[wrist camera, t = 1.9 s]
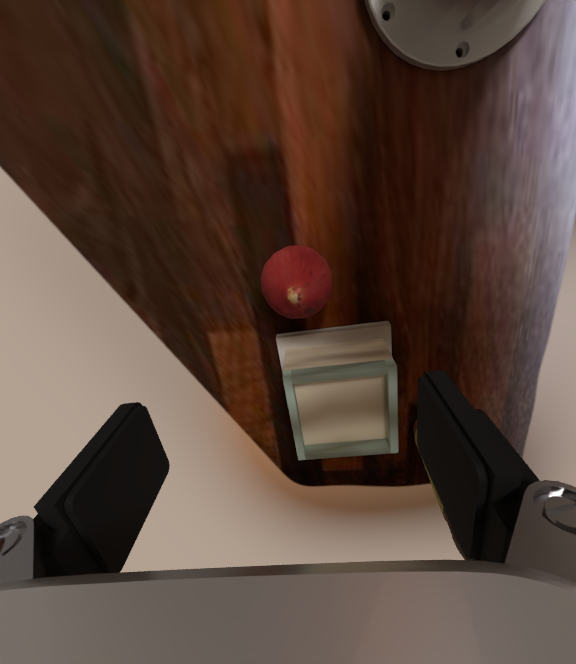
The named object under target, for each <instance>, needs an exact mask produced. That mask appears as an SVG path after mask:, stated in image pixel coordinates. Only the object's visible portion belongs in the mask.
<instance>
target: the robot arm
mask: <svg viewBox="0 0 576 664" xmlns="http://www.w3.org/2000/svg"><path fill="white" fill-rule="evenodd" d="M364 2H365V6H366V8H367V11H368V14H369V16H370V19H371V22H372V24H373V26H374V28H375V29H376V31H377V32H378V34H379V36H380V37H381V39H382V41H383V42H384V43H385V44H386V45H387V46H388V47H389V48H390V49H391V50H392V51H393V52H394V54H395V55H397V56H399V57H400V58H402V59H403V60H405V61H406V62H408V63H409V64H412V65H415V66H417V67H420V68H423V69H428V70H439V71H445V70H452V69H459V68H462V67H465V66H468V65H471V64H473V63H476V62H479V61H480V60H482V59H484V58H485V57H487V56H489V55H490V54H492V53H494V52H495V51H497V50H498V49H500V48H501V47H502V46H504V45H505V44H506V43H507V42H509V41H510V40H512V39H513V38H514V37H515V36H516V35H517V34H518V33H519V32H520V31H521V30H522V29H523V28H524V27H525V26H526V25H527V24H528V23H529V22H530V21H531V20H532V18H533V17H534V16H535V15H536V13H537V12H538V11H539V9H540V8H541V7H542V6H543V4H544V3H545V2H546V0H364ZM384 14H387V15H388V17H389V20H388V21H385V20H384V19H383V18H382V15H384ZM456 50H457V51H459V52H460V57H459V58H458V57H457V56H456V52H455V51H456ZM417 445H418V449H419V452H420V455H421V457H422V459H423V462H424V464H425V466H426V468H427V471H428V473H429V475H430V478H431V480H432V482H433V484H434V487H435V489H436V491H437V494H438V496H439V498H440V500H441V503H442V505H443V507H444V509H445V512H446V514H447V516H448V519H449V521H450V523H451V525H452V528H453V530H454V532H455V535H456V537H457V539H458V541H459V544H460V546H461V548H462V551H463V553H464V555H465V556H466V558H467V559H473V560H474V561H470V560H419V561H418V560H414V561H372V562H347V563H323V564H322V563H321V564H296V565H271V566H250V567H228V568H227V567H226V568H206V569H185V570H184V569H183V570H163V571H144V572H124V573H119V572H120V571H121V570H122V568H123V566H124V564H125V562H126V560H127V558H128V555H129V553H130V551H131V549H132V547H133V545H134V543H135V541H136V539H137V537H138V534H139V532H140V530H141V528H142V526H143V524H144V522H145V520H146V518H147V516H148V514H149V511H150V509H151V507H152V505H153V503H154V501H155V499H156V497H157V495H158V493H159V490H160V489H161V486H162V484H163V482H164V480H165V478H166V476H167V474H168V472H169V461H168V458H167V456H166V453H165V451H164V449H163V446H162V444H161V441H160V439H159V437H158V434H157V432H156V429H155V427H154V424H153V422H152V419H151V417H150V415H149V412H148V410H147V408H146V407H145V406H142V404H140V403H138V402H136V403H127V404H122V405H120V406H119V407H118V408H117V410H116V411H115V412H114V413H113V415H111V417H110V418H109V419H108V420H107V421H106V422H105V424H104V425H103V426H102V427H101V428H100V430H99V431H98V432H97V433H96V434H95V435H94V437H93V438H92V439H91V440H90V441H89V442H88V444H87V445H86V446H85V447H84V448H83V449H82V451H81V452H80V453H79V454H78V455H77V457H76V458H75V459H74V460H73V461H72V463H71V464H70V465H69V466H68V467H67V468H66V470H65V471H64V472H63V473H62V474H61V476H60V477H59V478H58V479H57V480H56V481H55V482H54V484H53V485H52V486H51V487H50V488H49V489H48V491H47V492H46V493H45V494H44V495H43V497H42V498H41V499H40V500H39V501H38V503H37V504H36V505H35V506H34V508H35V509H36V511H37V513H38V514H37V516H36V517H35V518H34V519H32V518H31V517H29V516H19V517H14V518H11V519H9V520H7V521H5V522H3V523H1V524H0V664H576V487H573V486H571V485H568V484H565V483H561V482H558V481H548V480H544V481H540V480H539V479H538V478H537V477H536V475H535V474H534V473H533V472H532V470H531V469H530V468H529V467H528V465H527V464H526V463H525V462H524V460H523V459H522V458H521V457H520V455H519V454H518V453H517V452H516V450H515V449H514V448H513V447H512V446H511V444H510V443H509V442H508V441H507V439H506V438H505V437H504V436H503V434H502V433H501V432H500V431H499V429H498V428H497V427H496V426H495V425H494V423H493V422H492V421H491V420H490V418H489V417H488V416H487V415H486V414H485V413H484V412H483V411H482V410H480V409H474V408H473V407H472V406H471V405H470V403H469V402H468V401H467V399H466V398H465V397H464V395H463V394H462V393H461V392H460V390H459V389H458V388H457V386H456V385H455V384H454V383H453V381H452V380H451V379H450V377H449V376H448V375H447V373H446V372H445V371H443V370H441V371H431V372H425V373H424V375H423V377H419V378H418V404H417Z"/></svg>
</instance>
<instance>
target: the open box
mask: <svg viewBox="0 0 576 664" xmlns="http://www.w3.org/2000/svg"><path fill="white" fill-rule="evenodd" d="M276 342H277V347H278V352H279V358H280V363H281V368H282V373H283V383H284V388H285V393H286V399H287V404H288V409H289V414H290V419H291V425H292V430H293V435H294V440H295V445H296V451H297V456H298V460H309V459H322V458H336V457H349V456H362V455H375V454H388V453H398V394H397V365H396V363H395V361H394V359H393V357H392V345H391V324H390V322H389V321H382V322H374V323H365V324H357V325H349V326H340V327H332V328H324V329H316V330H307V331H299V332H291V333H282V334H277V335H276Z"/></svg>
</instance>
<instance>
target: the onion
mask: <svg viewBox="0 0 576 664" xmlns="http://www.w3.org/2000/svg"><path fill="white" fill-rule="evenodd" d="M260 281H261V288H262V294H263V296H264V297H265V299H266V301H267V303H268V305H269V306H270V307H271V308H272V309H273V310H275V311H276V312H277V313H278V314H280V315H282V316H285V317H287V318H290V319H298V318H306V317H308V316H311V315H313V314H315V313H317V312H319V311H320V310H321V309H322V308H323V306H324V305H325V304H326V303H327V302H328V300H329V298H330V294H331V291H332V288H333V283H332V272H331V269H330V267H329V265H328V263H327V261H326V259H325V258H324V257H323V256H321V255H320V254H319V253H318V252H317V251H316V250H315V249H312V248H309V247H306V246H303V245H294V246H287V247H285V248H283V249H281V250H279V251H278V252H276V253H274V254H273V255H272V256H271V258H270V259H269V260H268V261H267V262H266V263H265V266H264V269H263V272H262V275H261V280H260Z"/></svg>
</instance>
